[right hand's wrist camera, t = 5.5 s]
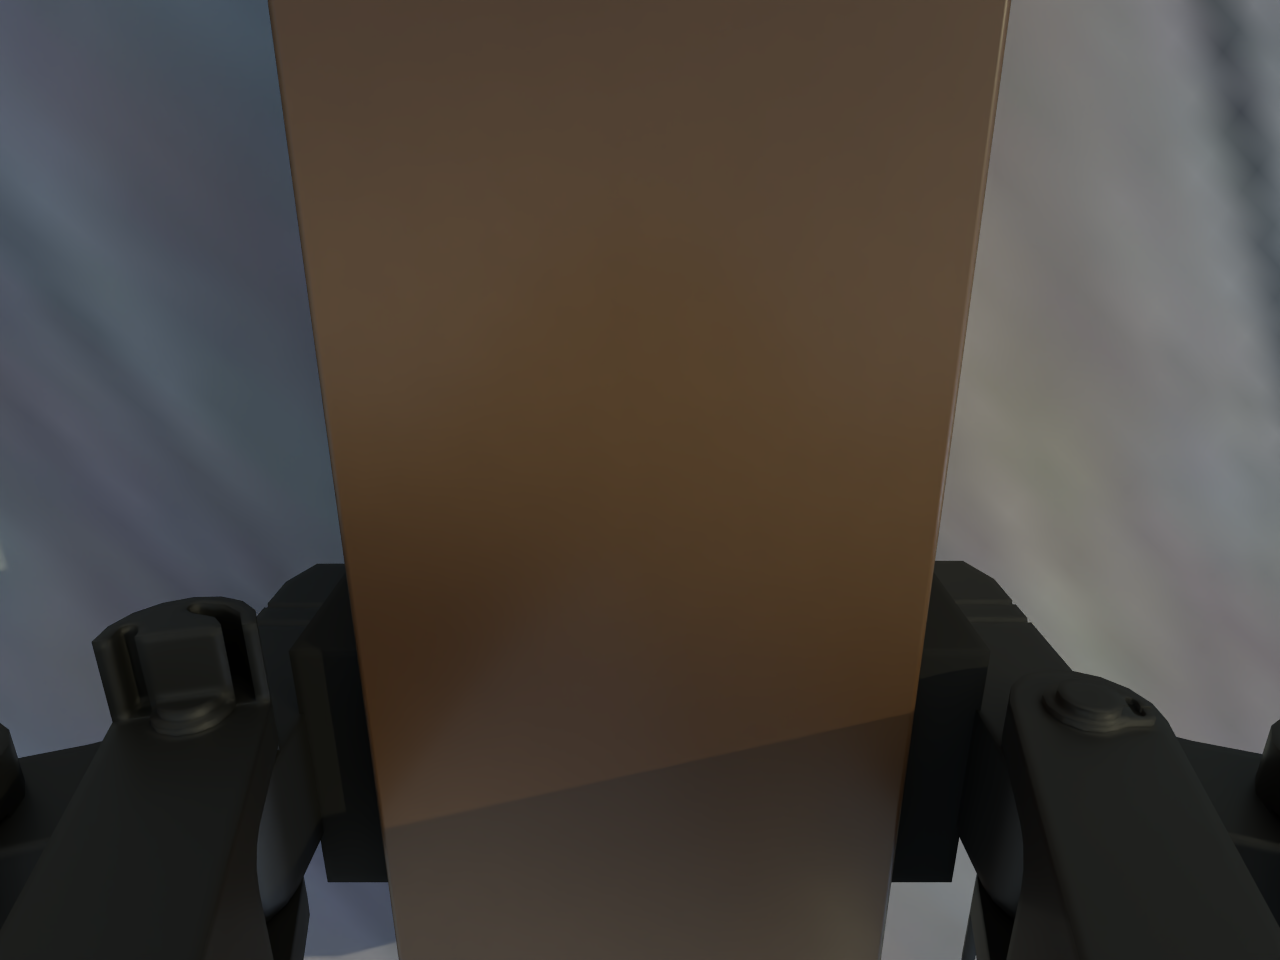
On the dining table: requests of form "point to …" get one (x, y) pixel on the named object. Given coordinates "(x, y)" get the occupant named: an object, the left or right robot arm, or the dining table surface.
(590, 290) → the post
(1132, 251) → the dining table surface
